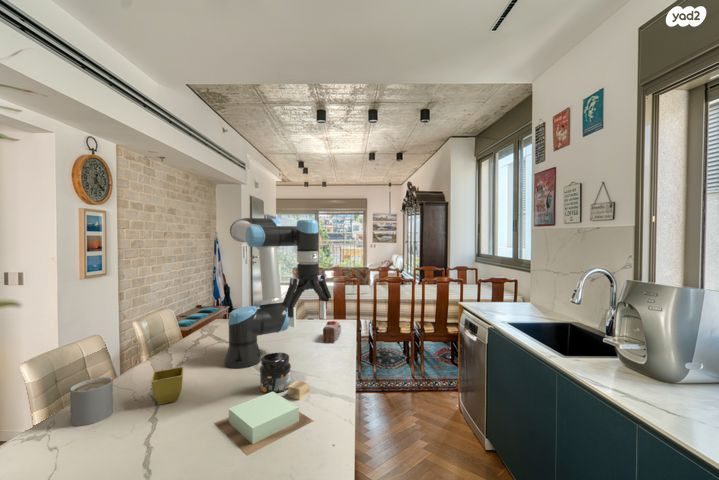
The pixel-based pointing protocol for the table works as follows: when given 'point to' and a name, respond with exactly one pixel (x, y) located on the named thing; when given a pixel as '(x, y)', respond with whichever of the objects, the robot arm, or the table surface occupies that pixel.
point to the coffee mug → (91, 401)
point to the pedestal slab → (263, 416)
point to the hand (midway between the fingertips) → (308, 322)
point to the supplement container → (275, 373)
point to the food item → (331, 332)
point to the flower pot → (167, 385)
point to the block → (298, 390)
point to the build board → (250, 448)
